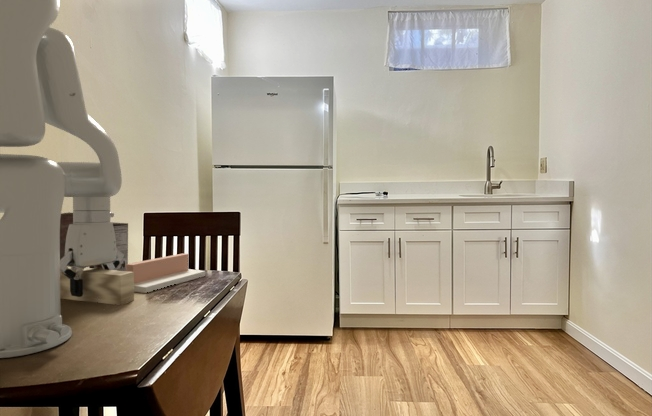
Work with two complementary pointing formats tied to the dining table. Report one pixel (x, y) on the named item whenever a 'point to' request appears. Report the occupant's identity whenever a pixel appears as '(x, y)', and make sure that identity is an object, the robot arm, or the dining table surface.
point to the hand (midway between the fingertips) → (92, 291)
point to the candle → (64, 231)
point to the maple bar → (101, 286)
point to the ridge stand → (162, 272)
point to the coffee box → (120, 245)
